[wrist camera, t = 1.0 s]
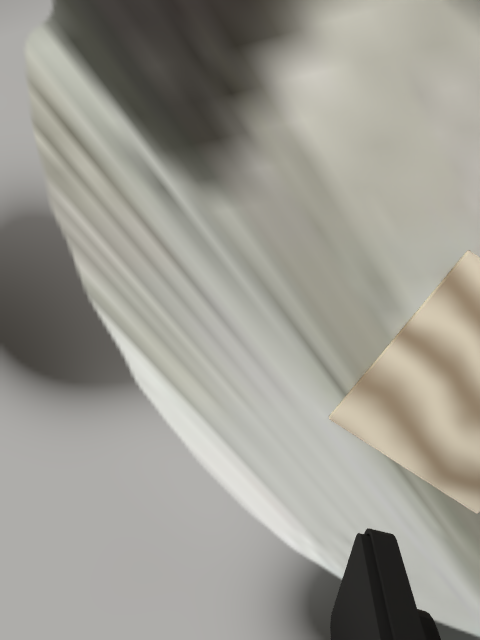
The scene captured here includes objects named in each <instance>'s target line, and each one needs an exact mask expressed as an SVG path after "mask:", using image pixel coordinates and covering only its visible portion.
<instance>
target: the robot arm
mask: <svg viewBox="0 0 480 640" xmlns="http://www.w3.org/2000/svg"><path fill="white" fill-rule="evenodd" d="M330 628H331V640H441V639H440V636H439V633H438V630H437V627H436V625H435V622H434V620H433V618H432V617H431V616H430V614H429V613H427V612H426V611H422V610H419V609H417V607H416V604H415V601H414V597H413V594H412V590H411V587H410V584H409V580H408V577H407V574H406V570H405V567H404V563H403V560H402V557H401V553H400V550H399V546H398V543H397V540H396V538H395V536H394V535H393V534H390V533H385V532H381V531H377V530H373V529H367V530H366V531H365V533H364V534H360V533H358V534H357V536H356V538H355V541H354V545H353V548H352V551H351V554H350V557H349V560H348V564H347V567H346V570H345V573H344V576H343V579H342V583H341V586H340V589H339V592H338V595H337V598H336V601H335V605H334V608H333V611H332V615H331V627H330Z"/></svg>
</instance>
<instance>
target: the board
mask: <svg viewBox="0 0 480 640" xmlns="http://www.w3.org/2000/svg"><path fill="white" fill-rule="evenodd" d="M329 419H330V420H332V421H333V422H335V423H336V424H338V425H339V426H341V427H343V428H344V429H346V430H347V431H349V432H350V433H352V434H353V435H355V436H357V437H358V438H360V439H361V440H363V441H364V442H366V443H367V444H369V445H371V446H372V447H374V448H375V449H377V450H378V451H380V452H381V453H383V454H385V455H386V456H388V457H389V458H391V459H392V460H394V461H395V462H397V463H399V464H400V465H402V466H403V467H405V468H406V469H408V470H409V471H411V472H413V473H414V474H416V475H417V476H419V477H420V478H422V479H423V480H425V481H427V482H428V483H430V484H431V485H433V486H434V487H436V488H437V489H439V490H440V491H442V492H444V493H445V494H447V495H448V496H450V497H451V498H453V499H454V500H456V501H458V502H459V503H461V504H462V505H464V506H465V507H467V508H468V509H470V510H472V511H473V512H475V513H476V514H478V513H479V512H480V257H478V256H477V255H475V254H474V253H472V252H471V251H467V252H466V253H465V254H464V255H463V257H462V258H461V259H460V260H459V261H458V263H457V264H456V265H455V266H454V267H453V268H452V270H451V271H450V272H449V273H448V274H447V276H446V277H445V278H444V279H443V280H442V282H441V283H440V284H439V285H438V286H437V288H436V289H435V290H434V291H433V292H432V294H431V295H430V296H429V297H428V298H427V300H426V301H425V302H424V303H423V304H422V306H421V307H420V308H419V309H418V310H417V312H416V313H415V314H414V315H413V316H412V318H411V319H410V320H409V321H408V322H407V324H406V325H405V326H404V327H403V328H402V330H401V331H400V332H399V333H398V334H397V336H396V337H395V338H394V339H393V340H392V342H391V343H390V344H389V345H388V346H387V348H386V349H385V350H384V351H383V352H382V354H381V355H380V356H379V357H378V358H377V359H376V361H375V362H374V363H373V364H372V365H371V367H370V368H369V369H368V370H367V371H366V373H365V374H364V375H363V376H362V377H361V379H360V380H359V381H358V382H357V383H356V385H355V386H354V387H353V388H352V389H351V391H350V392H349V393H348V394H347V395H346V397H345V398H344V399H343V400H342V401H341V403H340V404H339V405H338V406H337V407H336V409H335V410H334V411H333V412H332V413H331V415H330V416H329Z"/></svg>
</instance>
